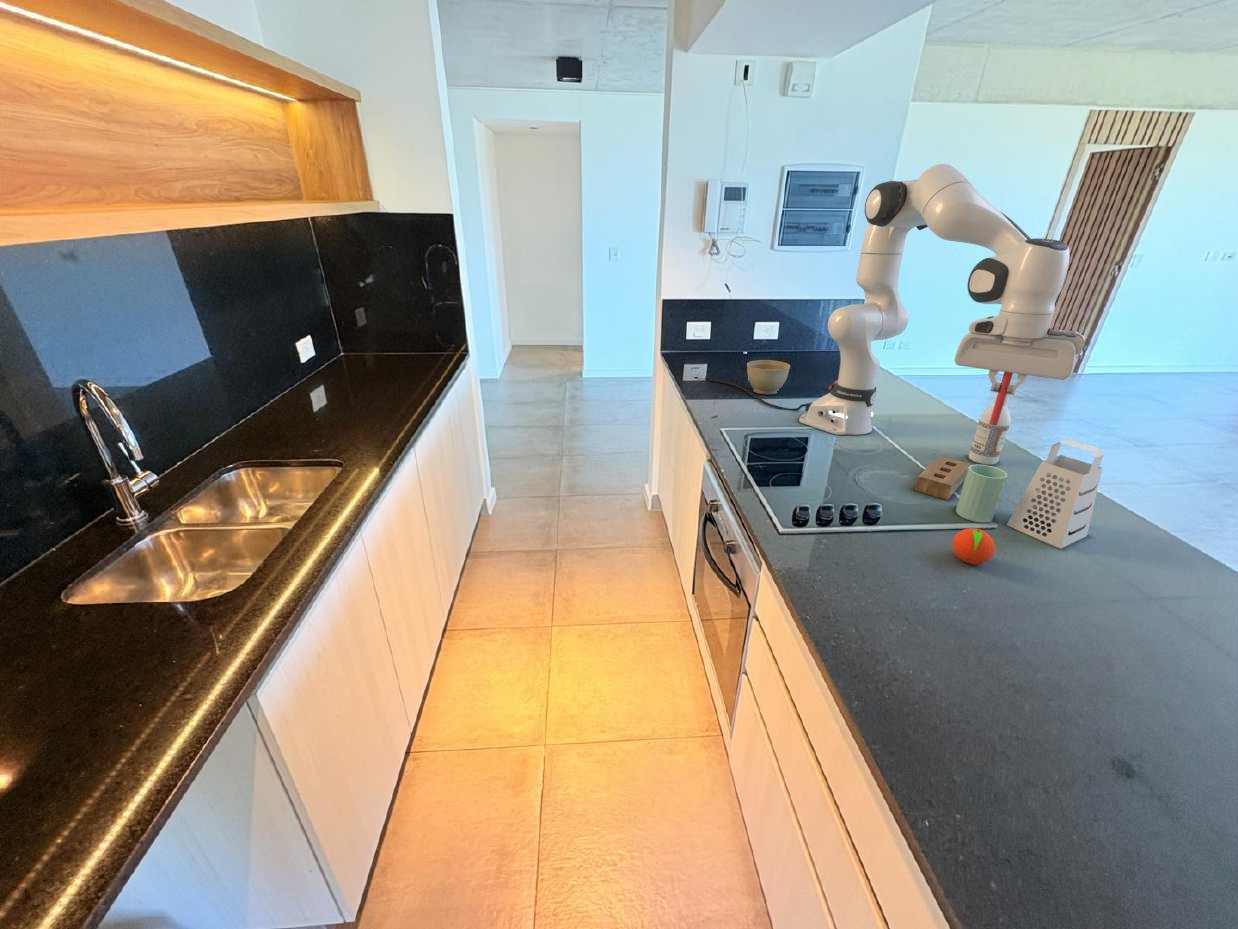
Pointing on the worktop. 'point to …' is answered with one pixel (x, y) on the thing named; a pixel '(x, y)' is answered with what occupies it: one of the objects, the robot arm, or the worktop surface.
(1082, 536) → the grater
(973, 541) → the clementine
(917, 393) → the worktop surface
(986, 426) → the bath foam
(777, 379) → the planter bowl
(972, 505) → the cup
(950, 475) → the block
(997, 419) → the straw
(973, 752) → the worktop surface
